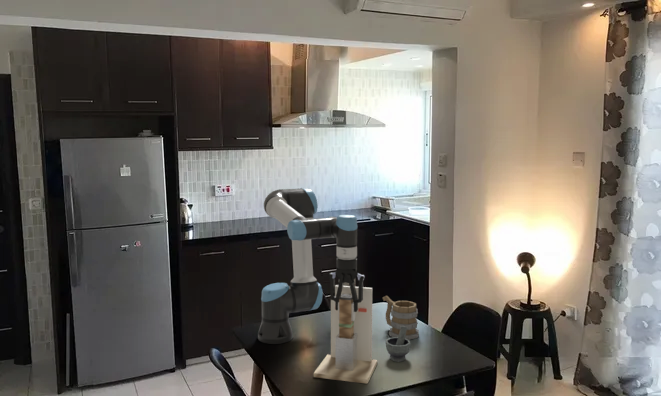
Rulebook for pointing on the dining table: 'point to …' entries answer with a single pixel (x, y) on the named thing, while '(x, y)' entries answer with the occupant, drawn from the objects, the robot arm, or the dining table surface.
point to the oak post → (345, 316)
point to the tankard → (402, 318)
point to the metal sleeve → (346, 352)
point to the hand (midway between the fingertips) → (346, 319)
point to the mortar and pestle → (398, 346)
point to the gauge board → (356, 324)
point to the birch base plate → (359, 373)
